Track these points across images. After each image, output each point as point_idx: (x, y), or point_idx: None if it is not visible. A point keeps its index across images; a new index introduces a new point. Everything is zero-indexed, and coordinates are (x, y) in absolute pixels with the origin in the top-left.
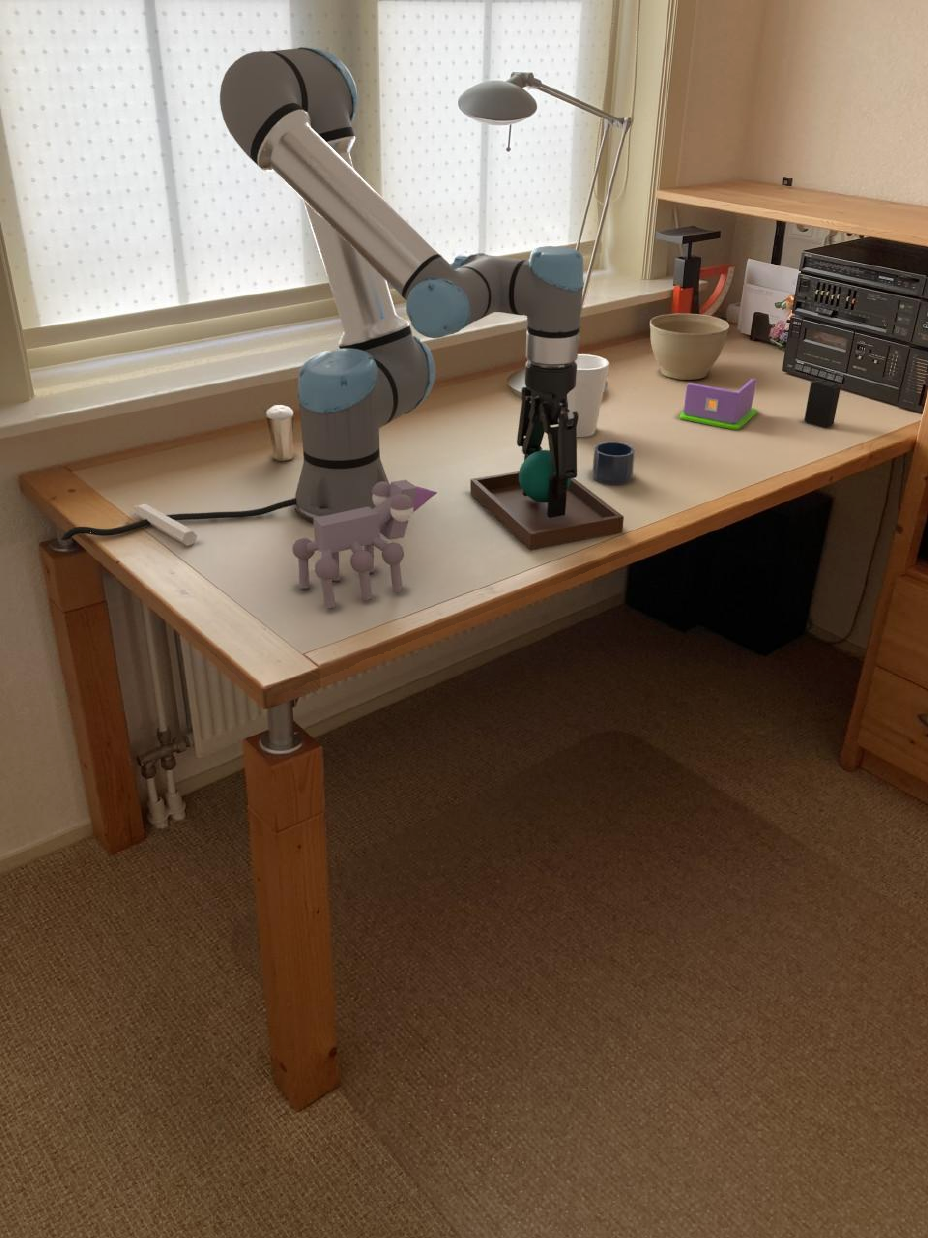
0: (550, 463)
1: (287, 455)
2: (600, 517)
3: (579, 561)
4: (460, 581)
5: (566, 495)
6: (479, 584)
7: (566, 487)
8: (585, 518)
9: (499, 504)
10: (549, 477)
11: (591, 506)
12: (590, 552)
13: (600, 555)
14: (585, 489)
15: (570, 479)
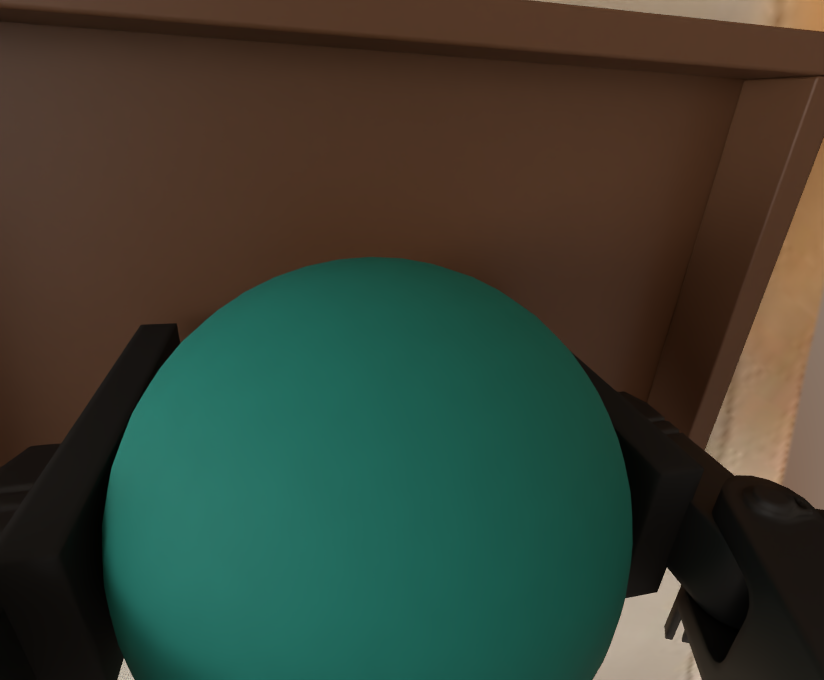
0: (598, 668)
1: None
2: (603, 88)
3: (784, 382)
4: (640, 674)
5: (644, 402)
6: (680, 644)
7: (692, 447)
8: (563, 187)
9: None
10: (670, 624)
11: (467, 57)
12: (772, 315)
13: (814, 290)
14: (352, 17)
15: (549, 329)
